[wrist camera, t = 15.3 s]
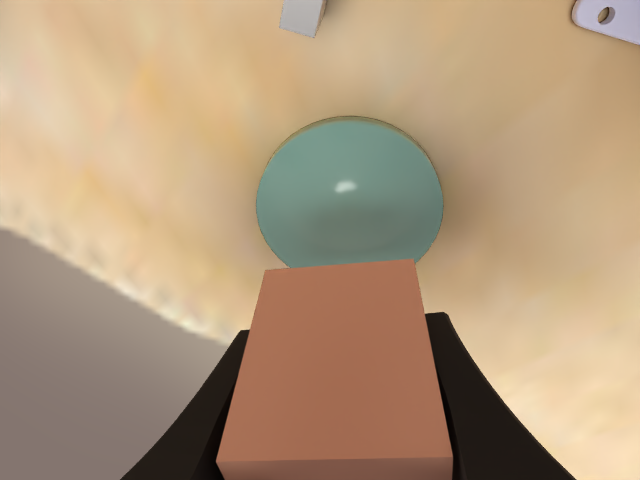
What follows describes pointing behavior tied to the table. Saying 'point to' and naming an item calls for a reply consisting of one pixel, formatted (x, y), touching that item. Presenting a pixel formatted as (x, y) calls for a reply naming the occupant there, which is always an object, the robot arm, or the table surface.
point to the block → (338, 380)
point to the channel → (302, 16)
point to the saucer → (349, 195)
